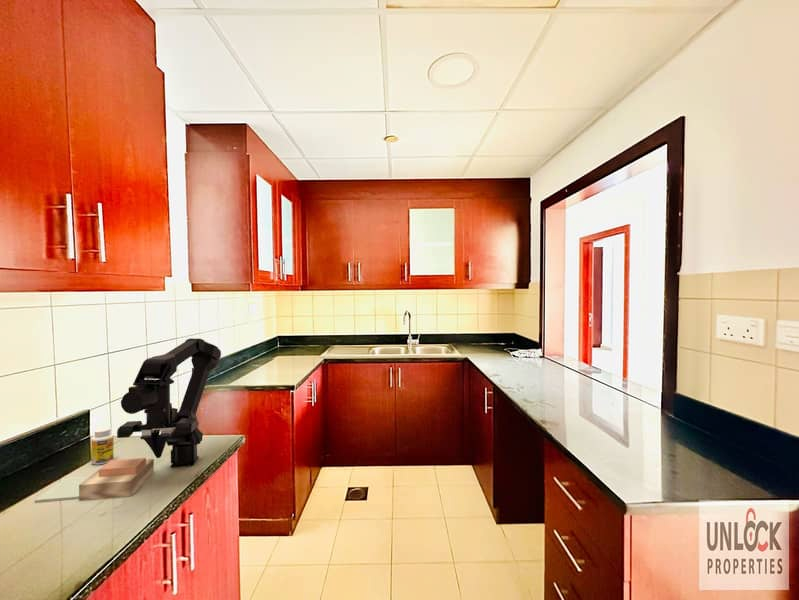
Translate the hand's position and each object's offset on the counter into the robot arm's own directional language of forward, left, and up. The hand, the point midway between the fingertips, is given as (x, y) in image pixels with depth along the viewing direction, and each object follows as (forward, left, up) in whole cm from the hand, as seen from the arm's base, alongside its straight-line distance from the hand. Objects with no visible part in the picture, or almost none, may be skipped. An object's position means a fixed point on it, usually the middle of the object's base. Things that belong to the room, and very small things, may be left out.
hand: (158, 457), depth 110 cm
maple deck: (+10, 0, -7) cm, 12 cm away
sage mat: (+22, 0, -7) cm, 23 cm away
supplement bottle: (+23, -18, -7) cm, 30 cm away
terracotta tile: (+9, 0, -3) cm, 9 cm away
